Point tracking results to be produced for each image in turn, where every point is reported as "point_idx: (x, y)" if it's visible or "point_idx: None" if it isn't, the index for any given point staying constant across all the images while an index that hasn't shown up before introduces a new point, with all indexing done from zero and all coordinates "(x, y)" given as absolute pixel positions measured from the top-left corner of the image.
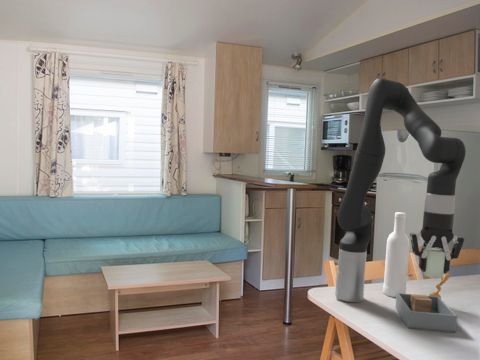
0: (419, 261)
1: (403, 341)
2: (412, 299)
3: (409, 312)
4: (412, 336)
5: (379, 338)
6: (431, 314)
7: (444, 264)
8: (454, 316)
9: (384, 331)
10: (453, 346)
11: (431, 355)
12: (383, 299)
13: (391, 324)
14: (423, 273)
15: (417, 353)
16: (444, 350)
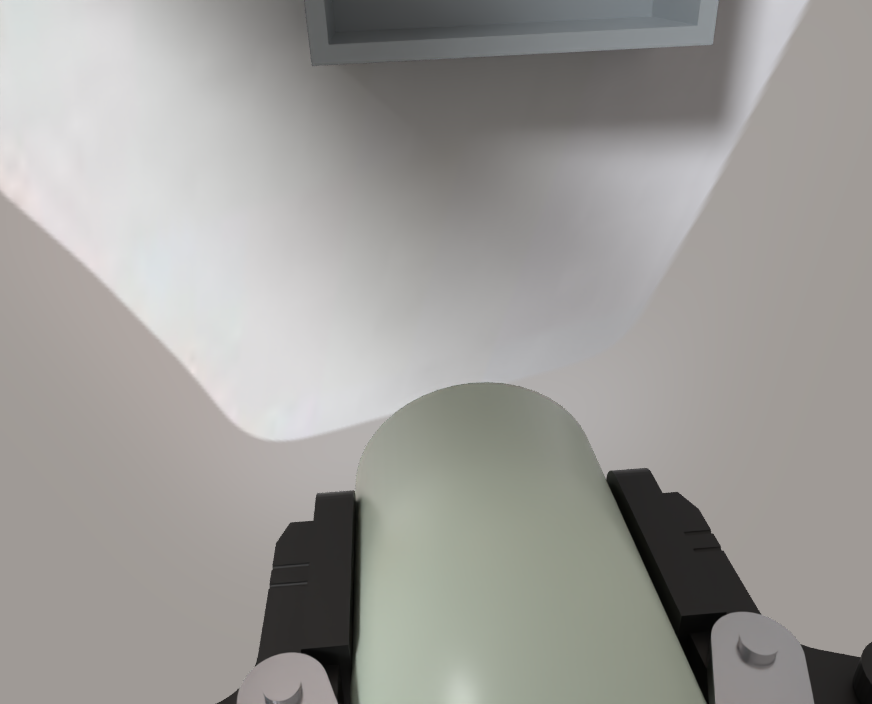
0: (269, 616)
1: (265, 291)
2: None
3: (312, 56)
4: (331, 197)
5: (121, 293)
6: (499, 55)
7: None
8: (690, 45)
9: (146, 169)
10: (552, 271)
11: None
12: None
13: (195, 3)
14: (356, 479)
15: (326, 413)
16: (481, 338)
